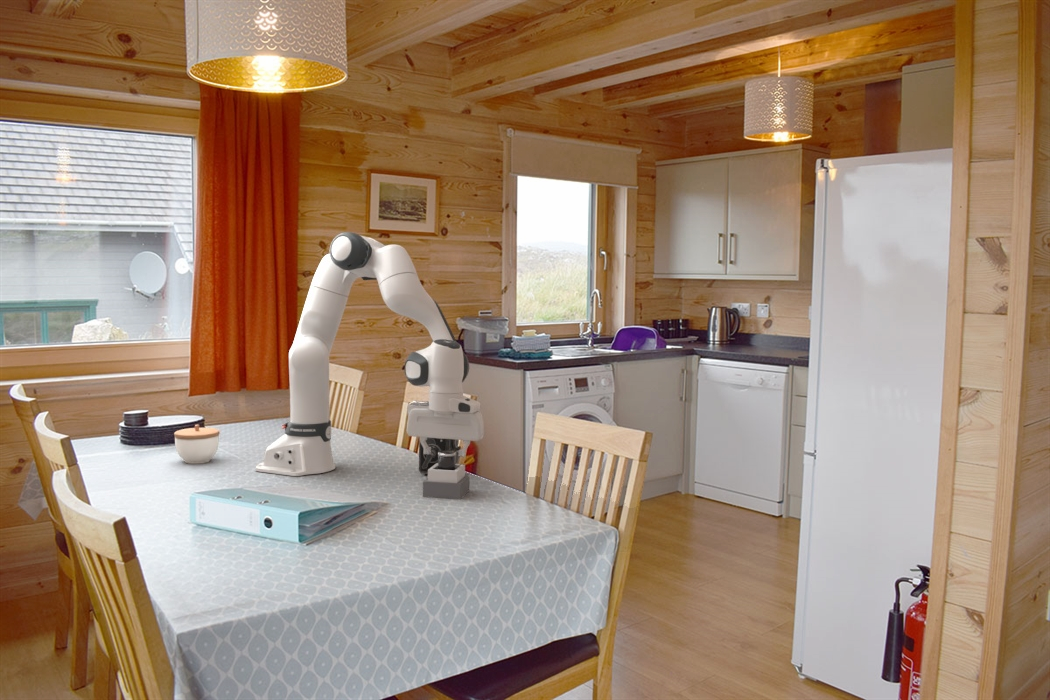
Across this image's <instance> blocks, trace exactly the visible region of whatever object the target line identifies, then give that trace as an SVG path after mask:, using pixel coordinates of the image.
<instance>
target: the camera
mask: <svg viewBox="0 0 1050 700" xmlns="http://www.w3.org/2000/svg"><path fill="white" fill-rule="evenodd" d="M426 443H427V445H428V447H431V454H424V448H423V446H422V445H421V443H420V437H418V471H419V472H418V473H420V474H422V476H425V475H428V469H430V468H431V467H432V466H434V465H435V464H436V463H438V452H439V451H442V450H451V451H455V452H456V455H455V464H460V458H461V457H459V456H458V455H459V453H458V451H459V450H460V449H462V446H460V445H459V444H460V440H455V439H441V438H428V437H427V440H426Z"/></svg>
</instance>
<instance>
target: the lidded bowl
mask: <svg viewBox="0 0 1050 700" xmlns="http://www.w3.org/2000/svg"><path fill="white" fill-rule="evenodd" d="M173 435H174V445H175V449H176V452H177V455H178V456H179V458H181V460H183V461H184V463H185V464H193V465H195V464H205V463H209V462H210V461H211V460H212V458H213V457H214V456H215V455H216V454H217V452H218V449H219V444H220V429H218V428H214V427H200V424H195V425H194V427H188V428H184V429H183V428H182V429H179V430H176V431H175V432H174V433H173Z"/></svg>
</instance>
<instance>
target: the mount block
mask: <svg viewBox="0 0 1050 700" xmlns="http://www.w3.org/2000/svg"><path fill="white" fill-rule="evenodd" d="M469 491H470V475H468V474H467V475H466V465H465V464H460V463H458V464H455V470H439V469H438V463H436V464H435V465H434V466H432V467H431V468H430V469H428V474H427V477H426V478H425V479H424V480H423V481H422V498H423V497H424V498H435V499H448V500H449V499H451V500H461V499H462V498H464V497H465V496H466V494H467V493H468V492H469Z"/></svg>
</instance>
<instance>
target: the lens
mask: <svg viewBox="0 0 1050 700" xmlns="http://www.w3.org/2000/svg"><path fill="white" fill-rule="evenodd" d="M455 455H456V452H455V451H451V450H442V451H439V452H438V469H439V470H455Z"/></svg>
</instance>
